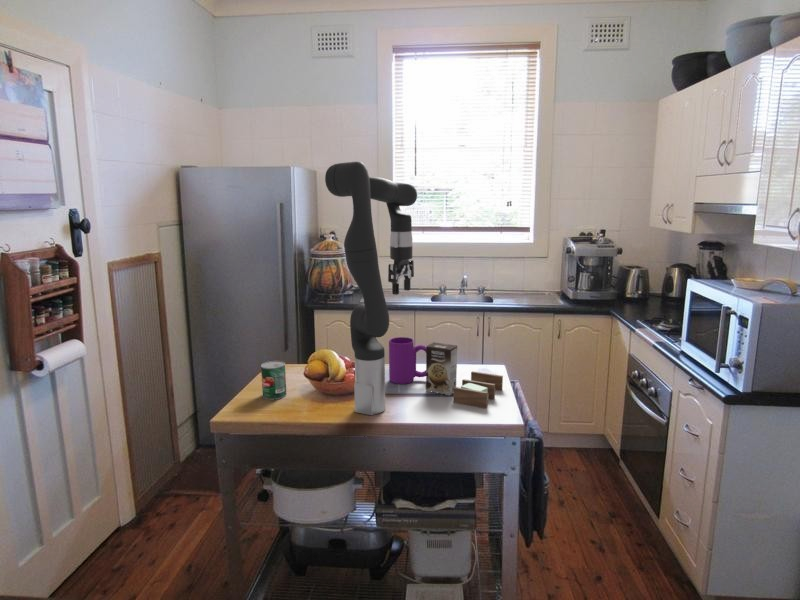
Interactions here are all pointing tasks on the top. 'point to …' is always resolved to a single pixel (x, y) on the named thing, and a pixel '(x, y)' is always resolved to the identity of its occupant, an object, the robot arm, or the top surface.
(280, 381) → the canned tomato
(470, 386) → the offcut upper
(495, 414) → the top surface
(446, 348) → the coffee box
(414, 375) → the mug
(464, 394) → the rack
